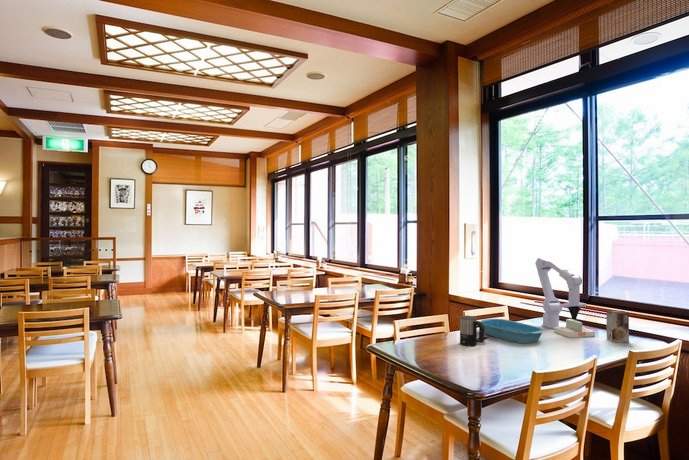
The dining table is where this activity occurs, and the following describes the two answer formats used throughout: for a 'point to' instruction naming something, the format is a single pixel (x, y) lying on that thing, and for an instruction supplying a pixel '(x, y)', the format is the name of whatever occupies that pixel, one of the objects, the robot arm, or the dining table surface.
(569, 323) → the blanking panel
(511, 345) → the dining table surface
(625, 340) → the coffee box
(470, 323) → the milk frother
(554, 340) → the dining table surface
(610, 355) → the dining table surface
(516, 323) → the casserole dish
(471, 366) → the dining table surface
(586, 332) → the slot rack
